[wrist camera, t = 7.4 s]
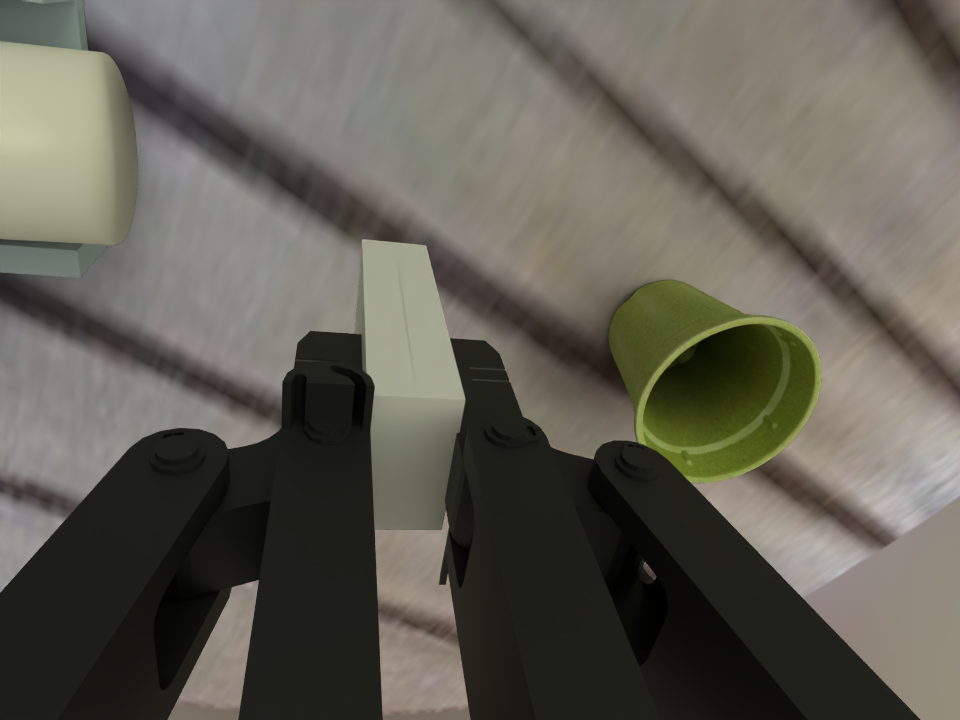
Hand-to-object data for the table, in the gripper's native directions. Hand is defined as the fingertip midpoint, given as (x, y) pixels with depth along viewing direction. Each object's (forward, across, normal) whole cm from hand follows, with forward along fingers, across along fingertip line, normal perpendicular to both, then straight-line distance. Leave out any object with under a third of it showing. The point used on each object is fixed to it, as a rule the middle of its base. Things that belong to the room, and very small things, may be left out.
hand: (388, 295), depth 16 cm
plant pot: (+18, +17, -9) cm, 26 cm away
